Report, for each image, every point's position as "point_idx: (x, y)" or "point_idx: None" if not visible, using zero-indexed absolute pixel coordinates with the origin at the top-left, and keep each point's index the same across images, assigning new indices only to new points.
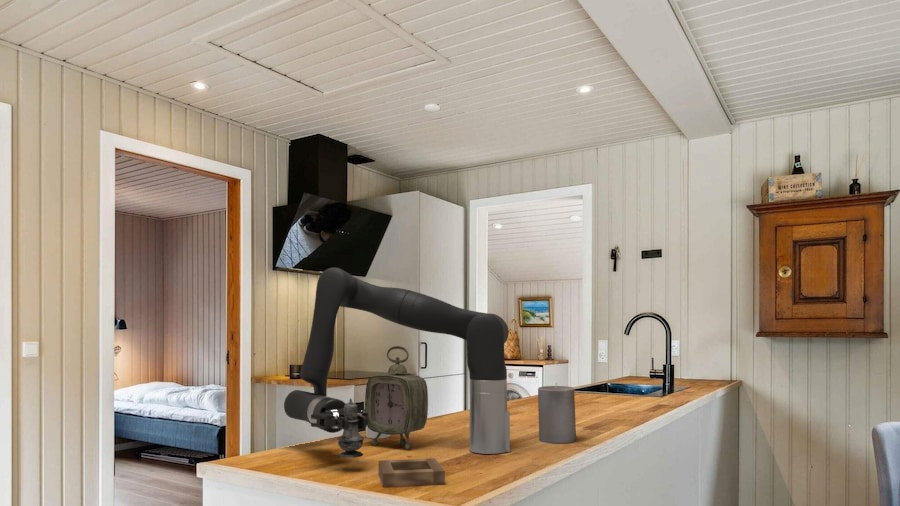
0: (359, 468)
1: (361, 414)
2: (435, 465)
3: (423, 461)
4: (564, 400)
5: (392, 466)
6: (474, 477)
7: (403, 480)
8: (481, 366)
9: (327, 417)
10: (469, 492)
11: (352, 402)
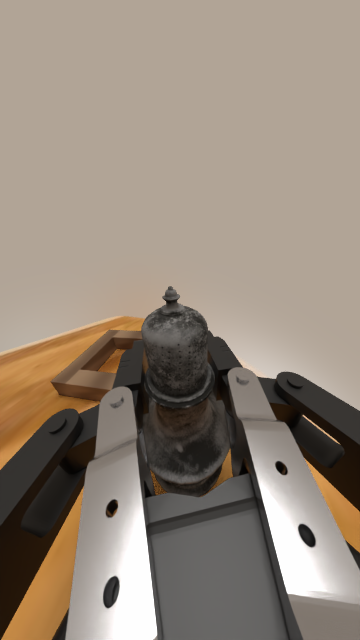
0: None
1: (112, 390)
2: (95, 347)
3: (83, 370)
4: None
5: None
6: (65, 353)
7: None
8: None
9: (290, 374)
10: (116, 323)
11: (165, 305)
